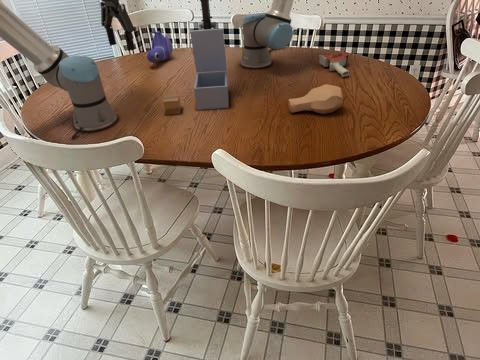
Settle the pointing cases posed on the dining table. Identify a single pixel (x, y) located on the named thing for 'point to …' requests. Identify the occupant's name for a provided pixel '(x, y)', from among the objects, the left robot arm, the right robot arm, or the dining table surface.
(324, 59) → the grey red-topped piece
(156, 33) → the toy
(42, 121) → the dining table surface
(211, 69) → the lid
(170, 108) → the block
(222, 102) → the chest
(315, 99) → the squash
